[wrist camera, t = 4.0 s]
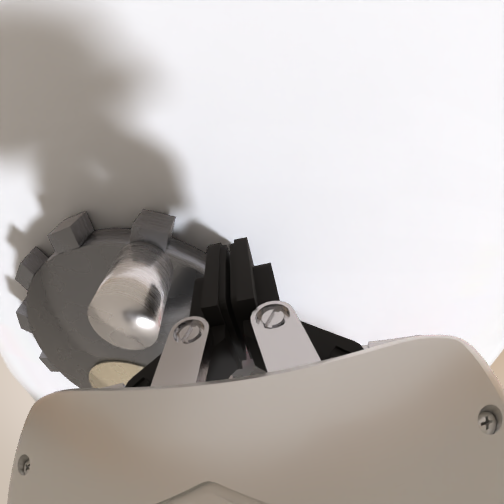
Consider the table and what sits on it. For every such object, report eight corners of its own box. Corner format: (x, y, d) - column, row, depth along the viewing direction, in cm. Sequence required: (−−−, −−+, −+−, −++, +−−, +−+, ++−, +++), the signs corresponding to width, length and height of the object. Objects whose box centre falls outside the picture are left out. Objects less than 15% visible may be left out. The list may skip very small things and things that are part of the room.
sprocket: (173, 422, 26) (170, 469, 20) (8, 321, 17) (-19, 367, 12) (336, 338, 20) (360, 404, 15) (105, 129, 11) (33, 155, 6)
